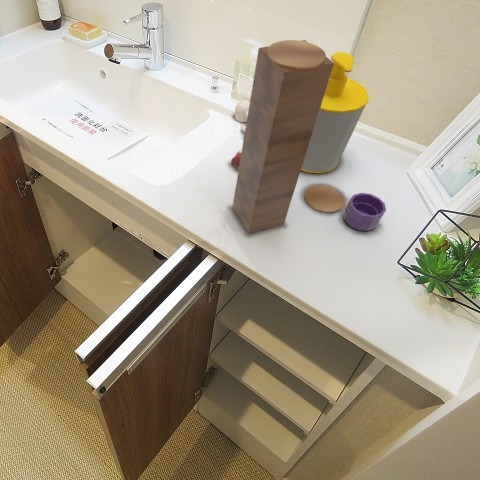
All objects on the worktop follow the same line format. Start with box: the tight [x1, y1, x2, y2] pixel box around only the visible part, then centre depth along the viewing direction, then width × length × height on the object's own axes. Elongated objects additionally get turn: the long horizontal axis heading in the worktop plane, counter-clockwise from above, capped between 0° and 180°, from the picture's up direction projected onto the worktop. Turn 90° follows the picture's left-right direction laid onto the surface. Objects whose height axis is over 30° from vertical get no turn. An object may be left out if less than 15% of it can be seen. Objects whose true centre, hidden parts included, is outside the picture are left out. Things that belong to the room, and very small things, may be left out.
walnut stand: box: [232, 39, 334, 235], centre depth 65 cm, size 7×7×30 cm
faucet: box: [234, 99, 250, 123], centre depth 91 cm, size 4×18×10 cm, turn 24°
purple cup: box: [343, 192, 387, 232], centre depth 74 cm, size 6×6×4 cm
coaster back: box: [303, 184, 345, 214], centre depth 79 cm, size 7×7×1 cm
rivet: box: [239, 124, 246, 133], centre depth 90 cm, size 10×2×2 cm, turn 24°
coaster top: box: [267, 39, 327, 69], centre depth 53 cm, size 7×7×1 cm
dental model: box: [230, 150, 242, 168], centre depth 84 cm, size 6×4×8 cm
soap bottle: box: [301, 51, 370, 174], centre depth 79 cm, size 13×13×21 cm
